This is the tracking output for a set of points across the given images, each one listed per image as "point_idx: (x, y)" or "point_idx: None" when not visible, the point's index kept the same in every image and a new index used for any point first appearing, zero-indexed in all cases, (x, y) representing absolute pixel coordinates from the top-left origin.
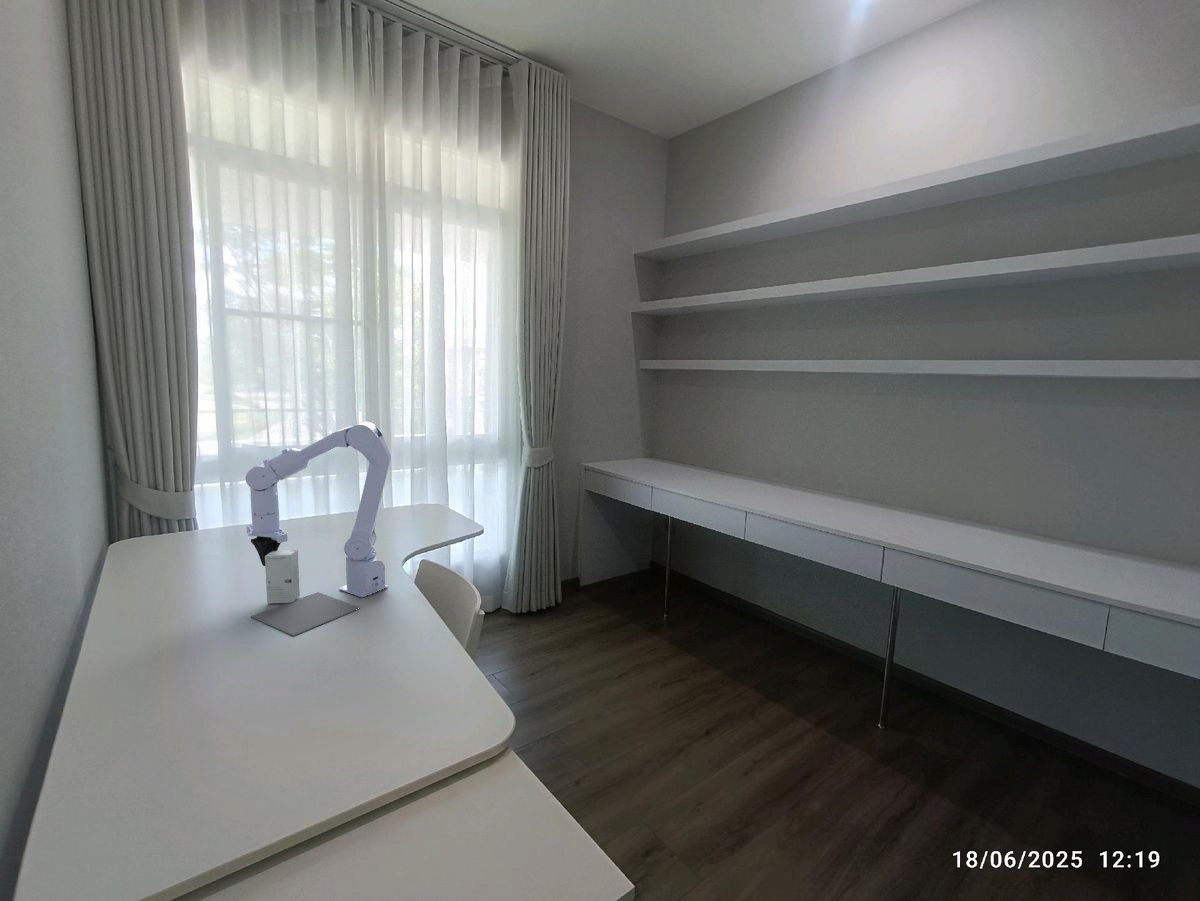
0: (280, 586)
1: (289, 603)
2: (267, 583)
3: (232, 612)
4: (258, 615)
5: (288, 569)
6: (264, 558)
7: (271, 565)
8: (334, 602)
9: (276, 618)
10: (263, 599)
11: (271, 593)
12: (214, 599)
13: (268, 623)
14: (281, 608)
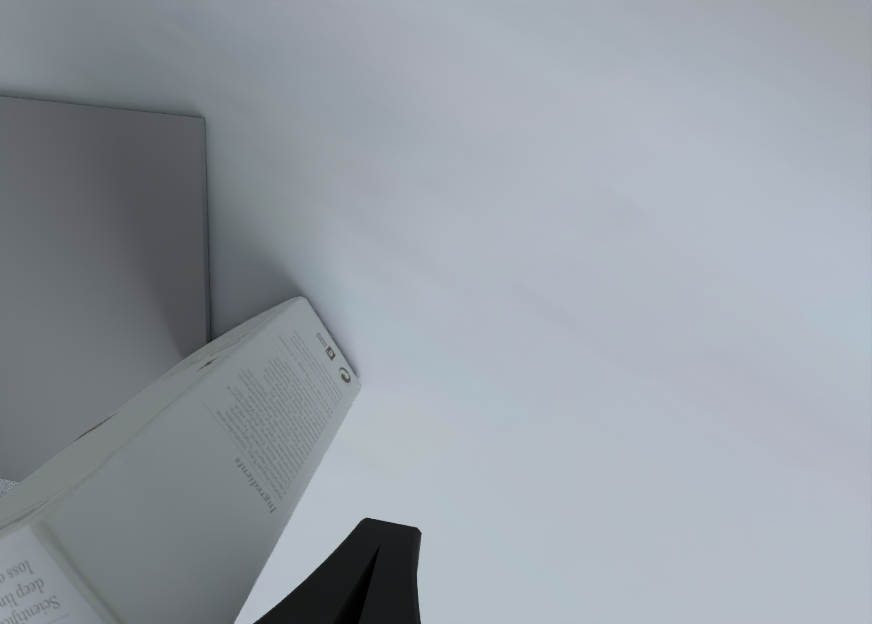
0: (162, 381)
1: (189, 349)
2: (228, 353)
3: (382, 105)
4: (169, 145)
5: (2, 497)
6: (312, 576)
7: (84, 466)
8: (14, 451)
9: (46, 170)
10: (405, 336)
11: (242, 330)
12: (736, 187)
13: (14, 100)
14: (159, 280)
